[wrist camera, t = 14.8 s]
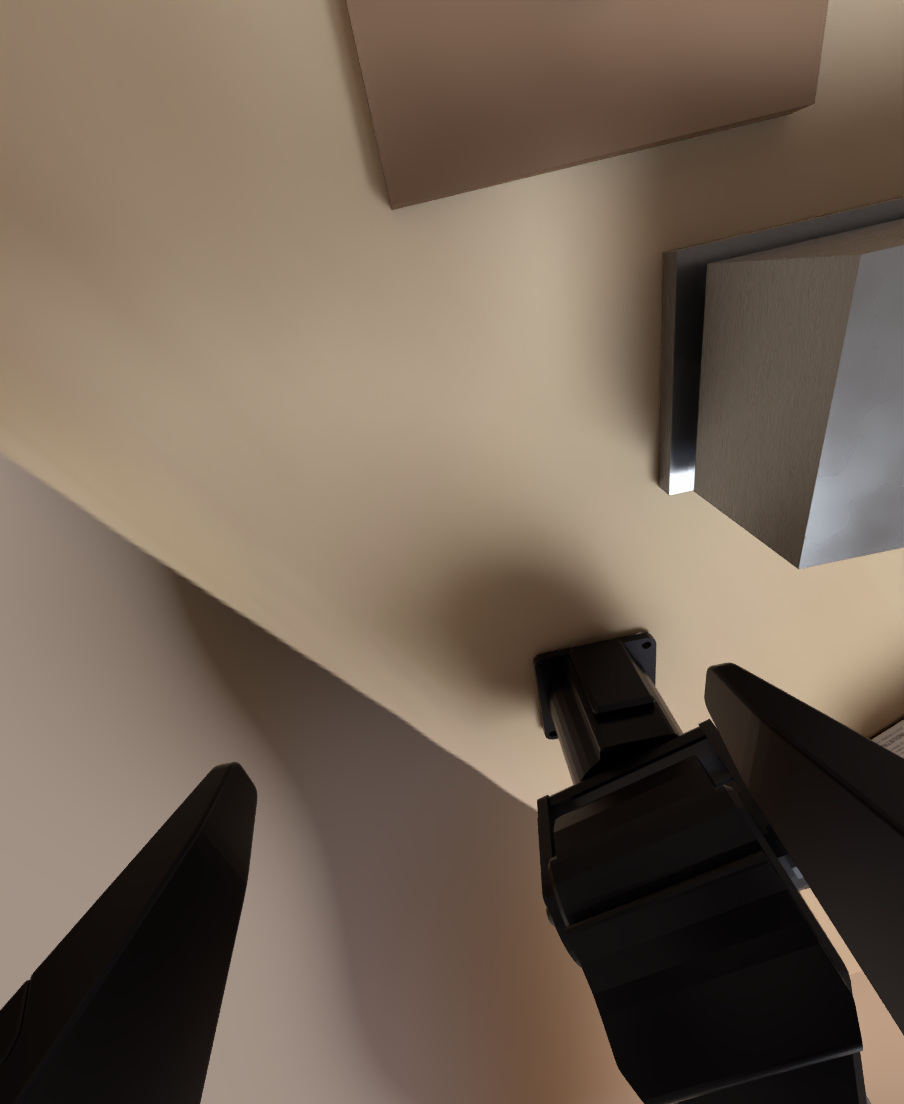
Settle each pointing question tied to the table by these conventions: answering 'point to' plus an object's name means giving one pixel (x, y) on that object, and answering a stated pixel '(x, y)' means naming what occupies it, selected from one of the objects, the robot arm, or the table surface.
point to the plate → (569, 80)
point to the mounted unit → (791, 382)
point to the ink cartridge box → (893, 739)
